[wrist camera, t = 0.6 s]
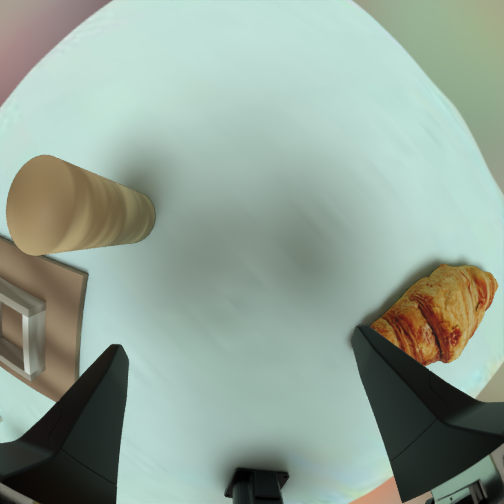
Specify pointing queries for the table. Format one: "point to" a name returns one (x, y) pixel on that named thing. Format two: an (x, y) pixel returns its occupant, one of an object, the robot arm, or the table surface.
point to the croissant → (439, 313)
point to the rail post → (73, 209)
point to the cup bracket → (40, 320)
